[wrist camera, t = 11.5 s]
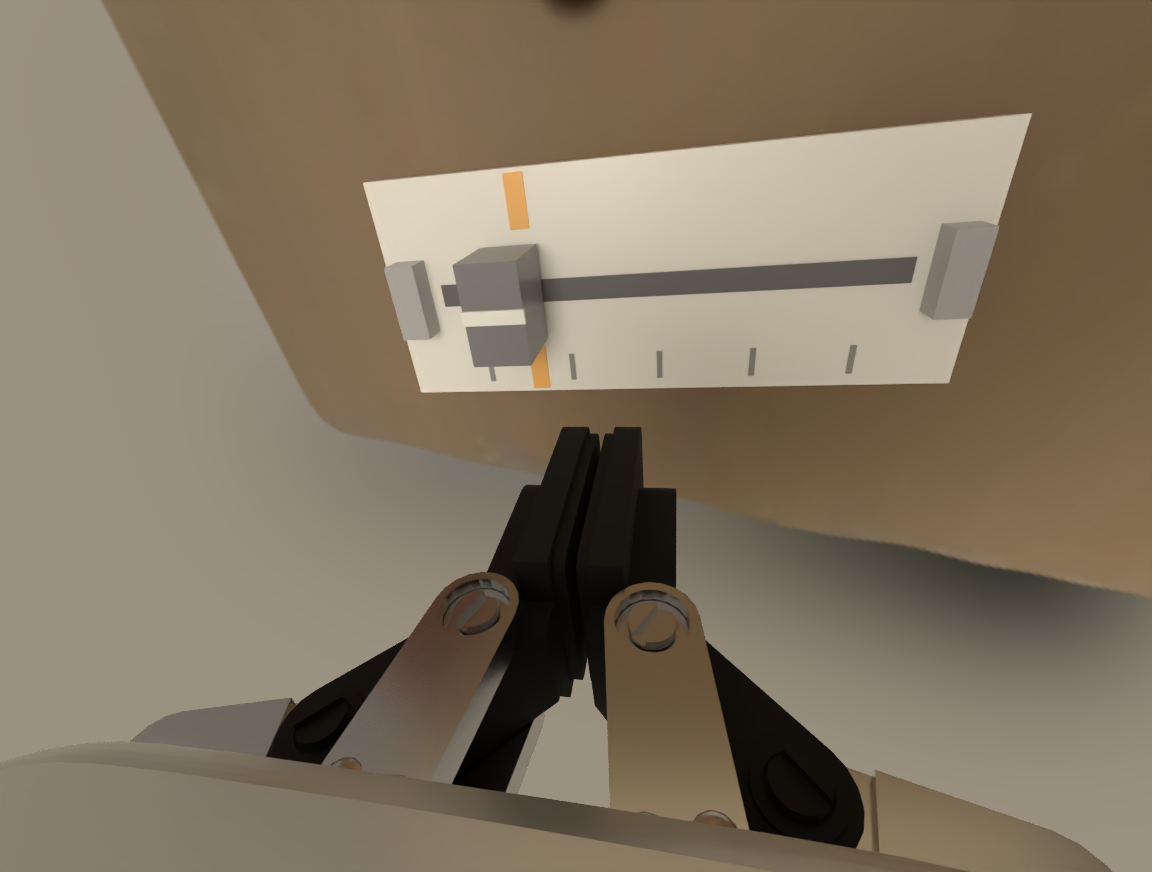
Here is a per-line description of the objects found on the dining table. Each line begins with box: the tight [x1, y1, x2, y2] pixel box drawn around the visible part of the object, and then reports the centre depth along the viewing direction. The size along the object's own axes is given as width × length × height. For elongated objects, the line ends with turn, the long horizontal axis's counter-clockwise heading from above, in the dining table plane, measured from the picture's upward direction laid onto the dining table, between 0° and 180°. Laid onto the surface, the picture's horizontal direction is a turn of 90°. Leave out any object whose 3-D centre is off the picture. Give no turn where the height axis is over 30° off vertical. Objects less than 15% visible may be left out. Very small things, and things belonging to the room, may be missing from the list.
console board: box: [363, 113, 1032, 392], centre depth 26 cm, size 30×12×4 cm, turn 95°
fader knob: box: [452, 244, 548, 367], centre depth 25 cm, size 3×5×4 cm, turn 5°
